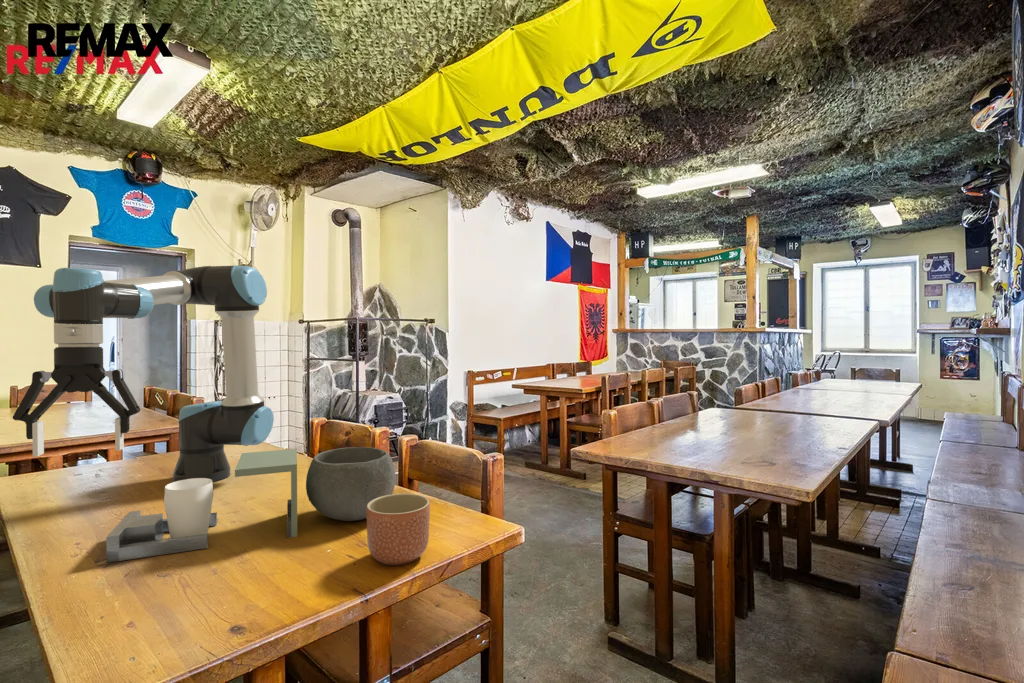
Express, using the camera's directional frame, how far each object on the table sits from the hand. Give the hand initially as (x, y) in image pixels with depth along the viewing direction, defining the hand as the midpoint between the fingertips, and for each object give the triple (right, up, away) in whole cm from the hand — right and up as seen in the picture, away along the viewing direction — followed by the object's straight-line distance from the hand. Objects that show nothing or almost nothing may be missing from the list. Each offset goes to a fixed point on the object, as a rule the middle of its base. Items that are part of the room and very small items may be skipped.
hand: (80, 452), depth 101 cm
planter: (+65, -21, -1) cm, 68 cm away
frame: (+13, -21, +6) cm, 25 cm away
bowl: (+48, -21, +22) cm, 57 cm away
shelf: (+31, -20, +14) cm, 39 cm away
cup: (+17, -21, +8) cm, 28 cm away
